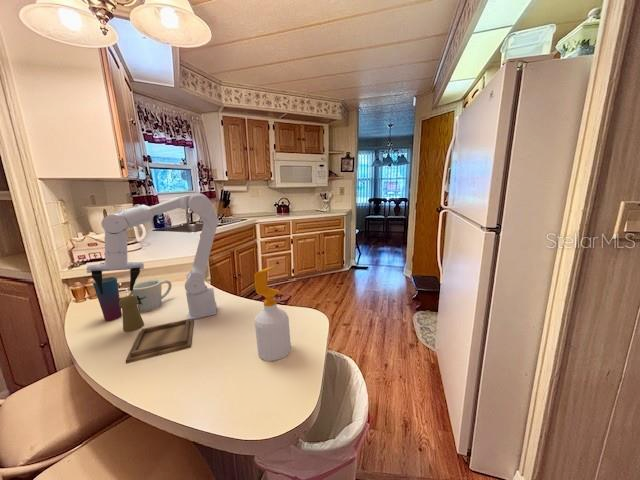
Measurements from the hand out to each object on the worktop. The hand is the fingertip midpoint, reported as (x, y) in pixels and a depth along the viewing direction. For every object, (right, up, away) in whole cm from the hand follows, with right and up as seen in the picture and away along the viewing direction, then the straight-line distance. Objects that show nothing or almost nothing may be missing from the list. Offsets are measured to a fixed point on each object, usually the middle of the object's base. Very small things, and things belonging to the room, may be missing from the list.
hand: (117, 291), depth 87 cm
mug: (0, -10, +21) cm, 23 cm away
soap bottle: (+54, -14, -13) cm, 57 cm away
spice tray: (+18, -14, -5) cm, 24 cm away
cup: (-10, -12, +11) cm, 19 cm away
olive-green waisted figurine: (+3, -13, +4) cm, 14 cm away
